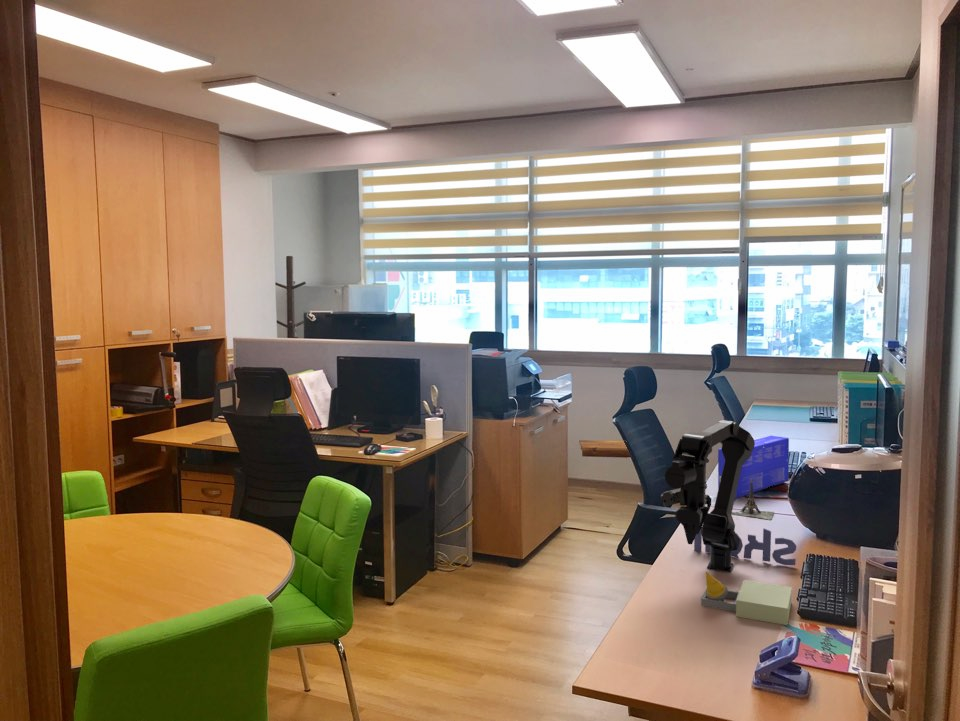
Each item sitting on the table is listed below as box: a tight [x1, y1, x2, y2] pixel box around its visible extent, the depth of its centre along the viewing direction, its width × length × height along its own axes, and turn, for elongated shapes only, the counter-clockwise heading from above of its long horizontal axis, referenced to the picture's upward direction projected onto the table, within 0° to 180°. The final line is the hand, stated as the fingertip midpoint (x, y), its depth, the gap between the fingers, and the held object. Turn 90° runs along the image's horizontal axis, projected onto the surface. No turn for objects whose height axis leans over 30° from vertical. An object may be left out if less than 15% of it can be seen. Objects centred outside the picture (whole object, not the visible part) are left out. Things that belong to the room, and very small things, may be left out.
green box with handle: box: [700, 579, 793, 626], centre depth 184 cm, size 14×20×4 cm
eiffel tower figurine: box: [731, 479, 775, 521], centre depth 262 cm, size 15×10×13 cm
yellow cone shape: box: [705, 571, 729, 601], centre depth 185 cm, size 5×5×10 cm
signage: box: [693, 527, 797, 566], centre depth 217 cm, size 28×1×10 cm, turn 62°
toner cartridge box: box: [717, 435, 790, 499], centre depth 295 cm, size 39×8×18 cm, turn 129°
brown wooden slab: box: [578, 440, 632, 459], centre depth 359 cm, size 23×19×6 cm
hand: (693, 538), depth 198 cm, fingers open, 9 cm apart
